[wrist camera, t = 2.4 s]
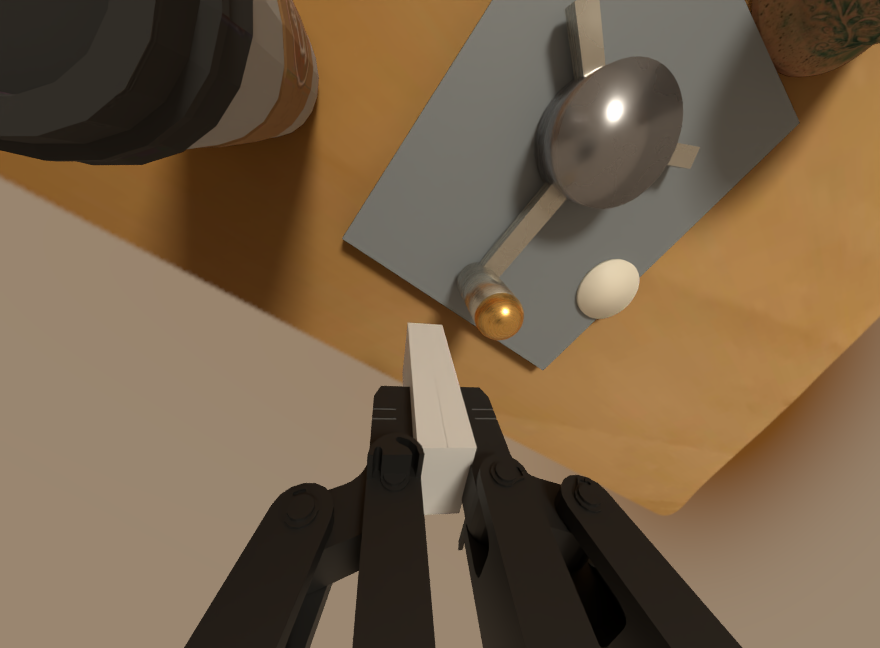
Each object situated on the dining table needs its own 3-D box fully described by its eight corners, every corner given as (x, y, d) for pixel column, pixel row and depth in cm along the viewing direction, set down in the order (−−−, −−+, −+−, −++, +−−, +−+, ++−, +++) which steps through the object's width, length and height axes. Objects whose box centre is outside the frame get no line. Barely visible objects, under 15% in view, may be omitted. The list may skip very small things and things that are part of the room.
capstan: (575, -9, 16) (694, -111, 10) (686, 153, 21) (814, 155, 14) (395, 247, 21) (397, 288, 15) (517, 331, 26) (558, 390, 19)
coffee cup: (356, 145, 19) (283, 136, 6) (216, 166, 19) (-185, 205, 6) (310, -55, 15) (-221, -1409, 2) (128, -34, 15) (-2124, -1609, 2)
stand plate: (344, 234, 21) (341, 239, 20) (621, -205, 14) (644, -241, 13) (544, 367, 30) (551, 377, 28) (785, 134, 22) (809, 133, 21)
